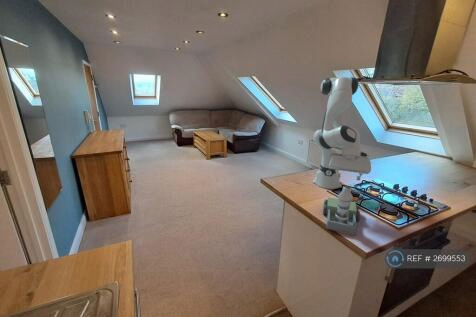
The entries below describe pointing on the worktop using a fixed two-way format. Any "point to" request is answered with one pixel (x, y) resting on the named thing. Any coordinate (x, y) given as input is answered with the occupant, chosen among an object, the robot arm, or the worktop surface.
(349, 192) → the silver metal bottle
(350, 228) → the toy pickup truck
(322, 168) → the robot arm
